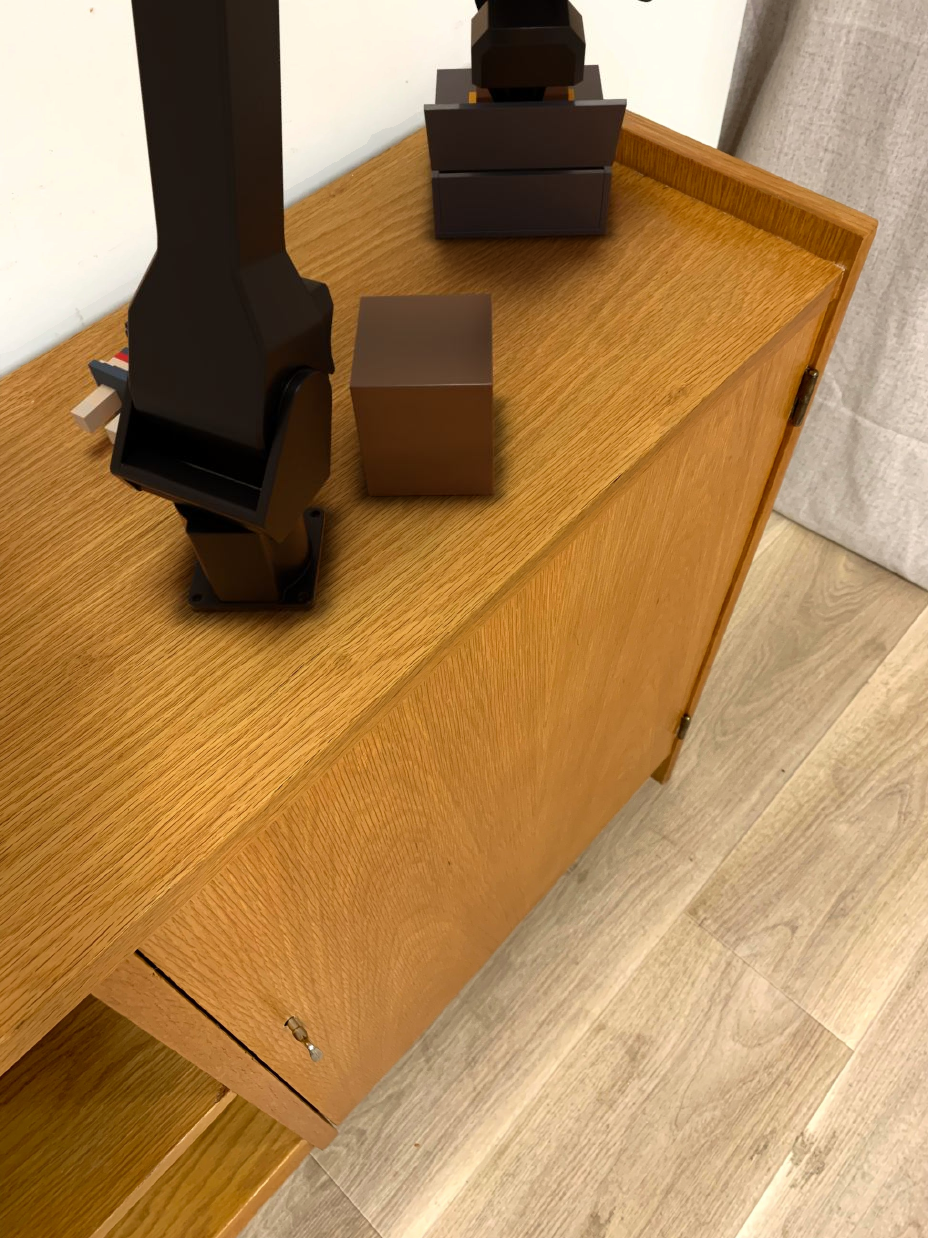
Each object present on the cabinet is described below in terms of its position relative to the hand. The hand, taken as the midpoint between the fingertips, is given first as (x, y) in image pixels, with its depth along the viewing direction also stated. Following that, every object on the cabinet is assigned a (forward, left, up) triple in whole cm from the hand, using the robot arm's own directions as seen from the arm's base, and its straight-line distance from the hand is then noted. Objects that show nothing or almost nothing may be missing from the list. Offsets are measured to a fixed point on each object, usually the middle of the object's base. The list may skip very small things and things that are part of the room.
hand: (520, 131), depth 60 cm
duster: (0, 0, 0) cm, 0 cm away
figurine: (-18, +21, -6) cm, 28 cm away
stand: (-24, +6, -6) cm, 25 cm away
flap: (-5, 0, +3) cm, 6 cm away
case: (+3, 0, -6) cm, 6 cm away
